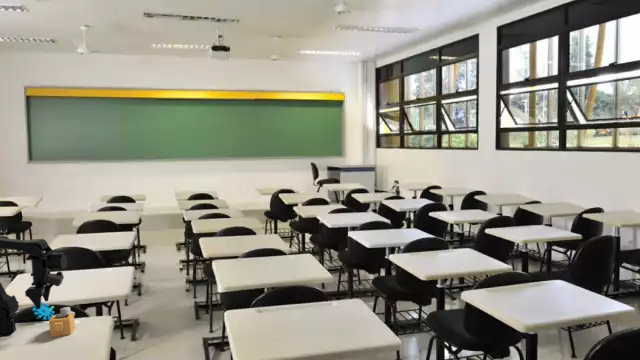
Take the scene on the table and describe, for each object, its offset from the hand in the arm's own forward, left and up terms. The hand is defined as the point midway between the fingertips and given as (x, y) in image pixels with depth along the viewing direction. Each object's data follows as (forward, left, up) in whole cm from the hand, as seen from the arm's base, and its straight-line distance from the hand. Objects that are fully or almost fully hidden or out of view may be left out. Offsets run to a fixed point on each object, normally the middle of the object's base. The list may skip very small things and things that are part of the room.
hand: (42, 304), depth 210 cm
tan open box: (+8, -2, -12) cm, 14 cm away
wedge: (+8, -4, -12) cm, 15 cm away
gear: (-5, +16, -12) cm, 21 cm away
